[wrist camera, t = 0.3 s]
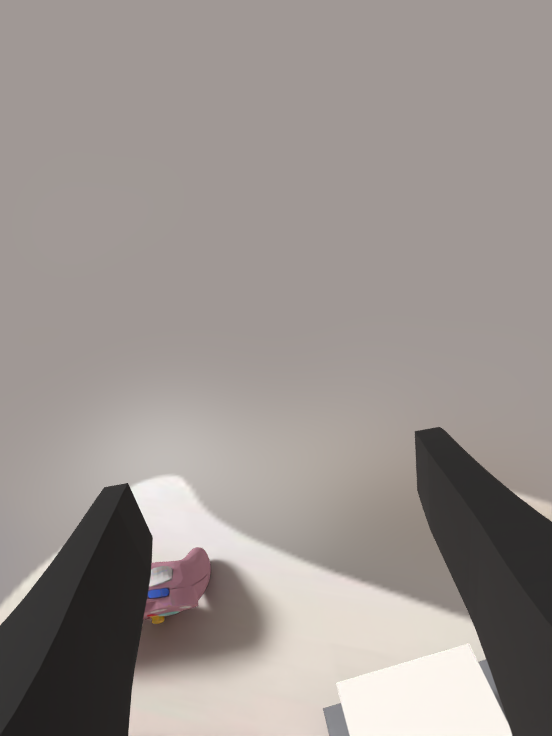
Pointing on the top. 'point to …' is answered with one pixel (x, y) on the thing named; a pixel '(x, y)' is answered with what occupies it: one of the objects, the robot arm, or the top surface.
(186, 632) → the top surface
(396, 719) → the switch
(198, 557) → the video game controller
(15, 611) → the robot arm
